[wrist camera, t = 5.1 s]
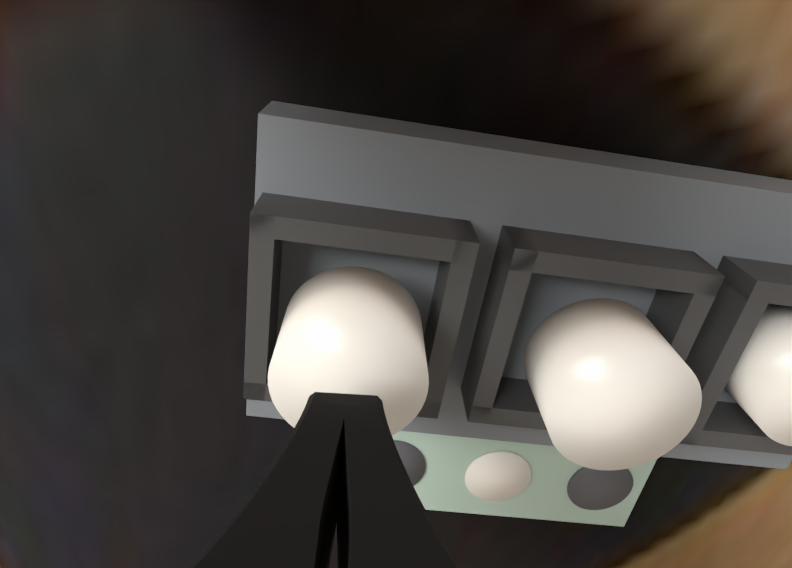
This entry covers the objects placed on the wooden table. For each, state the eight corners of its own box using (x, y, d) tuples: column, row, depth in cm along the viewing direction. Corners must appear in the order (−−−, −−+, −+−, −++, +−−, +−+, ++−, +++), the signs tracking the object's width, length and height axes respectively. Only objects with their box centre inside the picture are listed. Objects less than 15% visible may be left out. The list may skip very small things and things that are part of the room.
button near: (432, 276, 14) (442, 325, 12) (409, 390, 15) (414, 451, 13) (288, 257, 13) (272, 305, 11) (280, 376, 15) (264, 437, 13)
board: (888, 195, 17) (1005, 238, 14) (751, 430, 21) (818, 505, 18) (272, 100, 15) (244, 126, 12) (258, 378, 20) (234, 451, 16)
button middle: (676, 307, 14) (727, 359, 12) (629, 413, 16) (667, 476, 14) (544, 290, 14) (573, 341, 12) (509, 400, 16) (530, 463, 14)
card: (657, 440, 21) (663, 450, 21) (620, 518, 23) (625, 528, 23) (352, 409, 20) (351, 418, 20) (339, 494, 22) (339, 504, 22)
